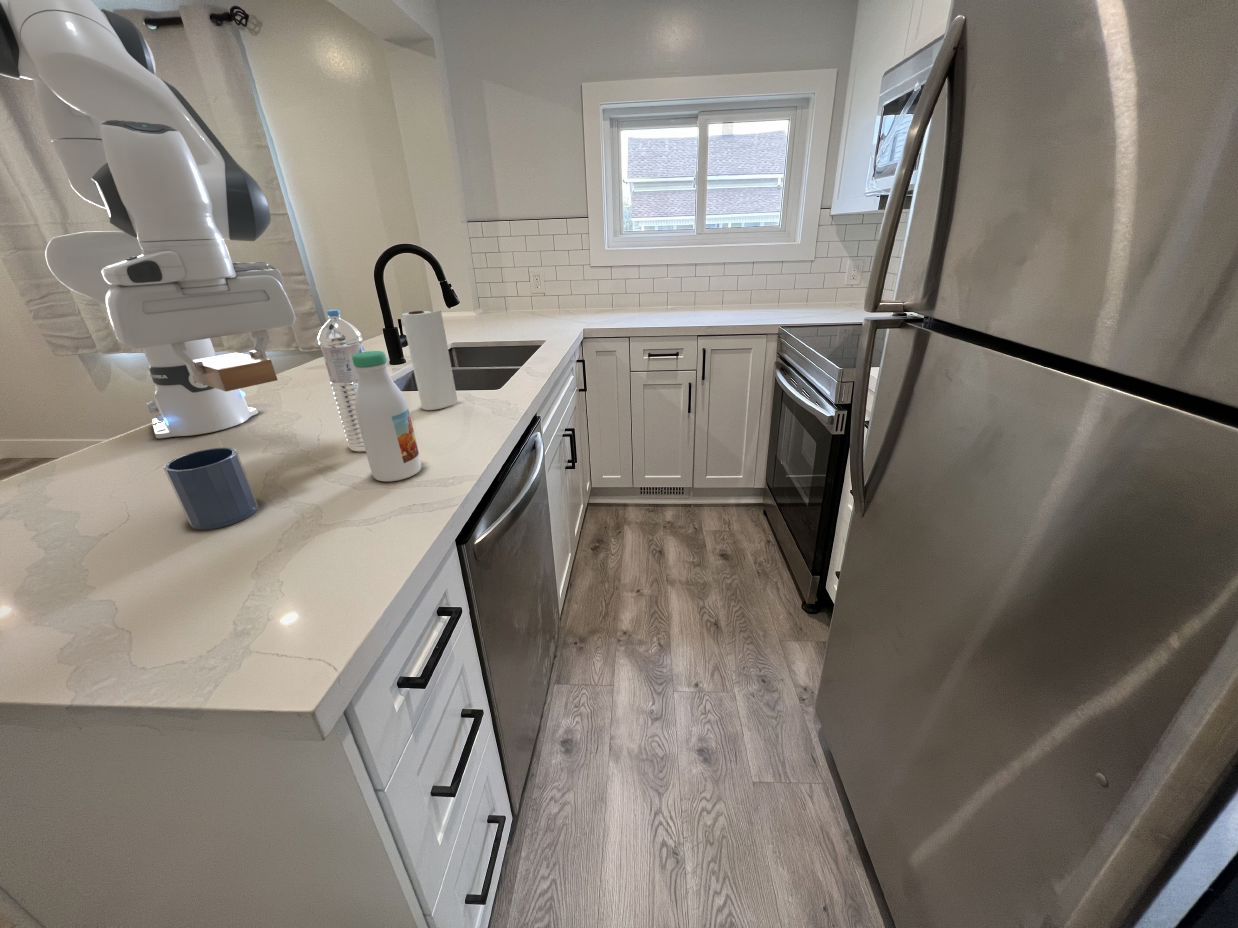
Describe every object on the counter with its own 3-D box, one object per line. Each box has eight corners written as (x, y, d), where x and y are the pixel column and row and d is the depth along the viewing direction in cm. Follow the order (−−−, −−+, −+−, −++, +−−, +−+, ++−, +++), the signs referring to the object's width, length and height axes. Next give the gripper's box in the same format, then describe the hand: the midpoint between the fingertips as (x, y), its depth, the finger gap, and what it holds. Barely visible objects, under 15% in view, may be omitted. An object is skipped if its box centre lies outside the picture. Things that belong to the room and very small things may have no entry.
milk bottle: (392, 486, 78) (359, 361, 70) (363, 476, 82) (328, 356, 74) (431, 468, 84) (406, 350, 76) (403, 459, 88) (375, 346, 80)
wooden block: (194, 381, 73) (185, 361, 72) (243, 371, 78) (236, 352, 77) (225, 391, 67) (217, 369, 66) (278, 380, 72) (271, 359, 70)
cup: (182, 519, 71) (155, 462, 68) (245, 496, 77) (223, 443, 73) (202, 536, 67) (175, 476, 63) (267, 510, 73) (245, 454, 69)
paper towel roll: (416, 410, 114) (395, 314, 105) (430, 402, 119) (410, 310, 110) (445, 411, 112) (426, 313, 103) (458, 403, 118) (441, 309, 109)
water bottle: (373, 453, 91) (335, 313, 81) (341, 452, 92) (300, 313, 82) (395, 439, 97) (363, 307, 87) (365, 438, 99) (329, 307, 88)
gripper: (267, 261, 75) (296, 352, 81) (82, 271, 60) (134, 382, 66) (286, 260, 72) (314, 355, 78) (95, 271, 57) (148, 388, 63)
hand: (230, 368), depth 72 cm, fingers closed on wooden block, 6 cm apart
